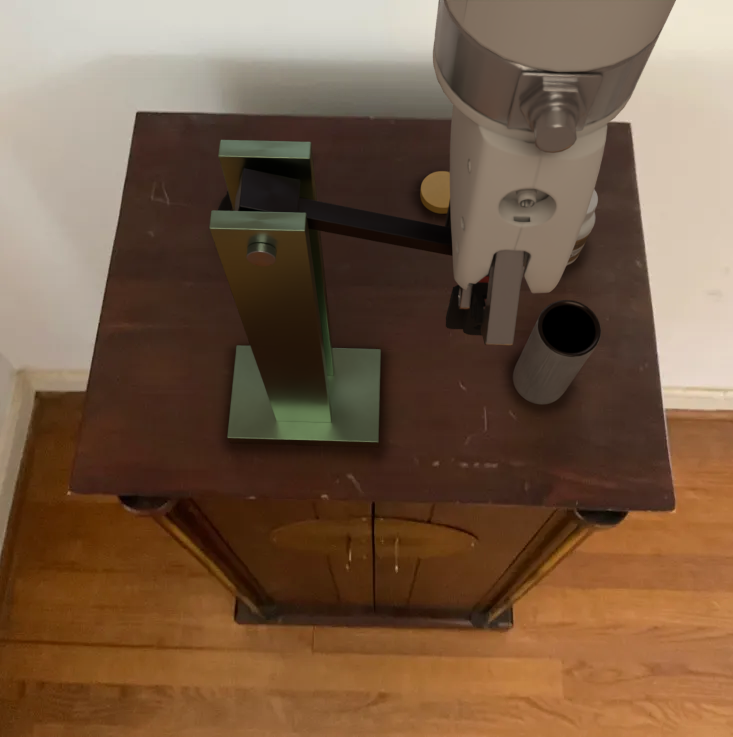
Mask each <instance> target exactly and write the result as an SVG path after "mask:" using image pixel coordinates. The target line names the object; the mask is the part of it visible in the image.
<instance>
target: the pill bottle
mask: <svg viewBox="0 0 733 737" xmlns="http://www.w3.org/2000/svg"><path fill="white" fill-rule="evenodd" d="M598 203H599V196H598V193H597V191H596V189H595V188H594V192H593V195H592V198H591V201H590V204H589V207H588V210H587V213H586V216H585V219H584V222H583V225H582V227H581V230H580V233H579V235H578V238H577V240H576V243H575V245H574V248H573V250H572V253H571V255H570V258H569V260H568V263H567V265H566V267H567V266H569V265H571V264H573V263H574V262H575V261H576V260H577V259H578V257H579V256H580V254H581V252H582V251H583V248H584V246H585V244H586V242H587V240H588V238H589V236H590V235H591V232H592V230H593V228H594V226H595V224H596V212H595V211H596V209H597V206H598Z"/></svg>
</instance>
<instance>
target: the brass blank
mask: <svg viewBox="0 0 733 737" xmlns="http://www.w3.org/2000/svg"><path fill="white" fill-rule="evenodd" d="M419 197H420V202H421V204H422V205H423V206H424V207H425V208H426V209H427V210H428V211H430V212H433V213H435V214H440V215H445V214H446V215H447V211H448V206H449V201H450V171H446V170H440V171H439V170H438V171H433V172H432V173H429V174H428V175H426V177H425V178H423V180H422V182H421V185H420V191H419Z"/></svg>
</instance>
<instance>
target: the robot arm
mask: <svg viewBox="0 0 733 737" xmlns="http://www.w3.org/2000/svg"><path fill="white" fill-rule="evenodd" d="M676 1H677V0H438V4H437V13H436V19H435V20H436V21H435V28H434V29H435V30H434V39H433V47H432V65H433V69H434V73H435V77H436V80H437V83H438V84H439V86H440V87H441V90H442V92H443V93H444V95H445V96H446V97H447V99H448V101H449V102H450V103H451V104H452V112H451V124H450V138H449V139H450V140H449V172H450V201H449V206H448V211H447V213H446V217H445V223H444V226H446V227H451V233H452V252H453V256H452V271H453V280H454V281H455V282H456V284H457V285H455V286H452V289H451V294H450V298H449V302H448V307H447V311H446V315H445V328H447V329H449V330H462V333H464V334H465V335H467V336H482V340H483V344H484V346H500V347H501V346H503V347H512V346H513V345H514V339H515V334H516V324H517V318H518V317H517V316H518V308H519V300H520V294H521V287H522V286H521V285H522V281H523V278H524V279H525V282H526V285H527V286H528V288H529V290H530V293H532V294H548V293H549V294H550V292H552V291H553V290H554V289H555V288H556V287H557V285H558V284H559V282H560V280H561V279H562V276H563V274H564V272H565V269H566V267H567V266H568V265H567V263H568V260H569V258H570V255H571V253H572V250H573V248H574V245H575V243H576V240H577V238H578V235H579V233H580V230H581V227H582V225H583V222H584V219H585V216H586V213H587V210H588V207H589V204H590V201H591V198H592V195H593V192H594V189H595V188H596V186H597V181H598V176H599V173H600V170H601V165H602V160H603V157H604V152H605V147H606V141H607V133H608V124H609V123H610V122H611V121H613V120H614V119H615V118H616V117H617V116H618V115H619V114H621V112H622V111H623V110H624V109H625V107H626V106H627V104H628V102H629V101H630V99H631V98H632V96H633V94H634V91H635V89H636V87H637V85H638V82H639V80H640V78H641V76H642V75H643V73H644V72H643V71H644V70H645V68H646V66H647V63H648V61H649V59H650V57H651V55H652V53H653V51H654V48H655V46H656V44H657V41H658V40H659V37H660V35H661V33H662V31H663V29H664V27H665V25H666V23H667V21H668V19H669V17H670V14H671V12H672V10H673V8H674V6H675V3H676ZM566 265H567V266H566ZM485 276H486V277H489V283H484V282H478V281H480V280H481V279H482V278H484V277H485Z"/></svg>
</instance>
